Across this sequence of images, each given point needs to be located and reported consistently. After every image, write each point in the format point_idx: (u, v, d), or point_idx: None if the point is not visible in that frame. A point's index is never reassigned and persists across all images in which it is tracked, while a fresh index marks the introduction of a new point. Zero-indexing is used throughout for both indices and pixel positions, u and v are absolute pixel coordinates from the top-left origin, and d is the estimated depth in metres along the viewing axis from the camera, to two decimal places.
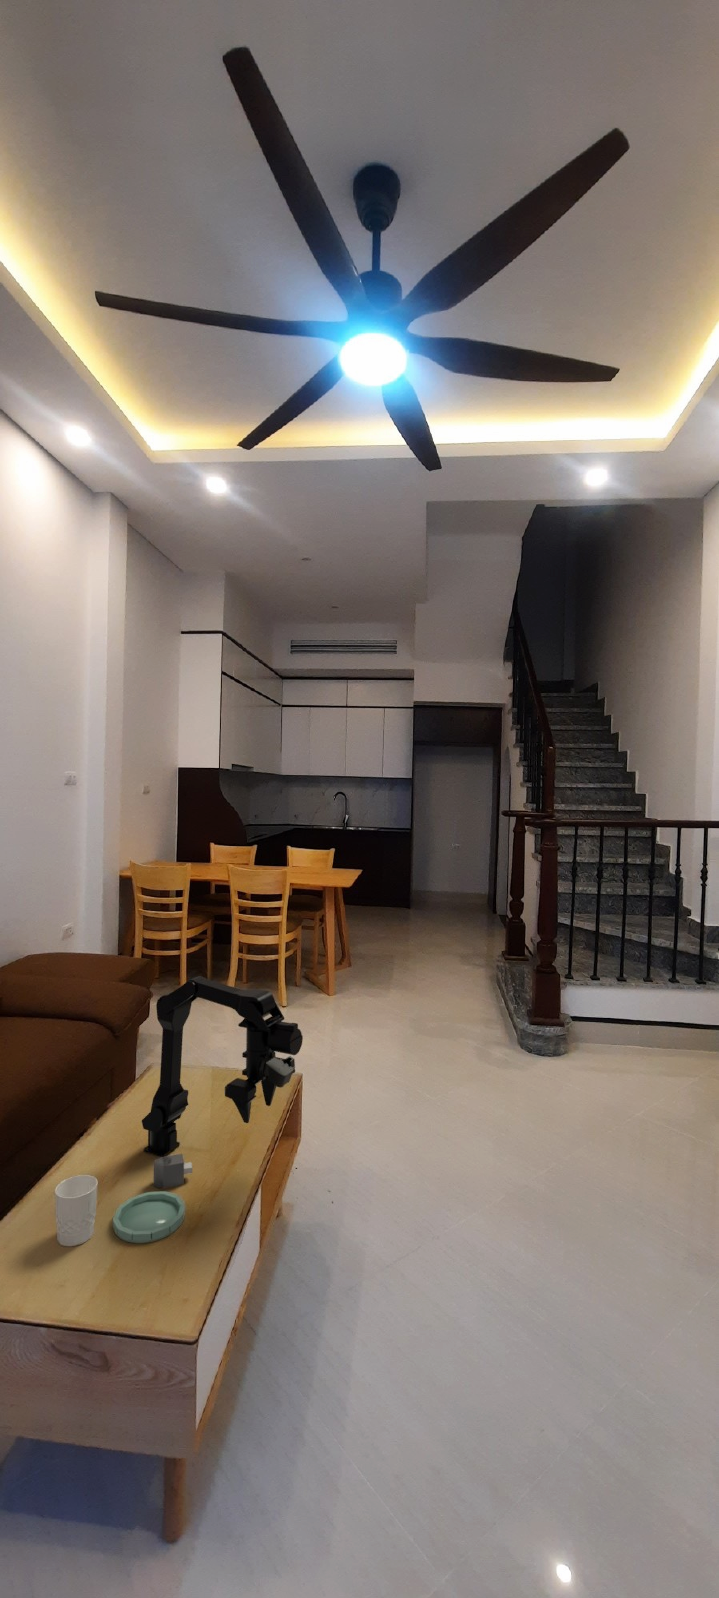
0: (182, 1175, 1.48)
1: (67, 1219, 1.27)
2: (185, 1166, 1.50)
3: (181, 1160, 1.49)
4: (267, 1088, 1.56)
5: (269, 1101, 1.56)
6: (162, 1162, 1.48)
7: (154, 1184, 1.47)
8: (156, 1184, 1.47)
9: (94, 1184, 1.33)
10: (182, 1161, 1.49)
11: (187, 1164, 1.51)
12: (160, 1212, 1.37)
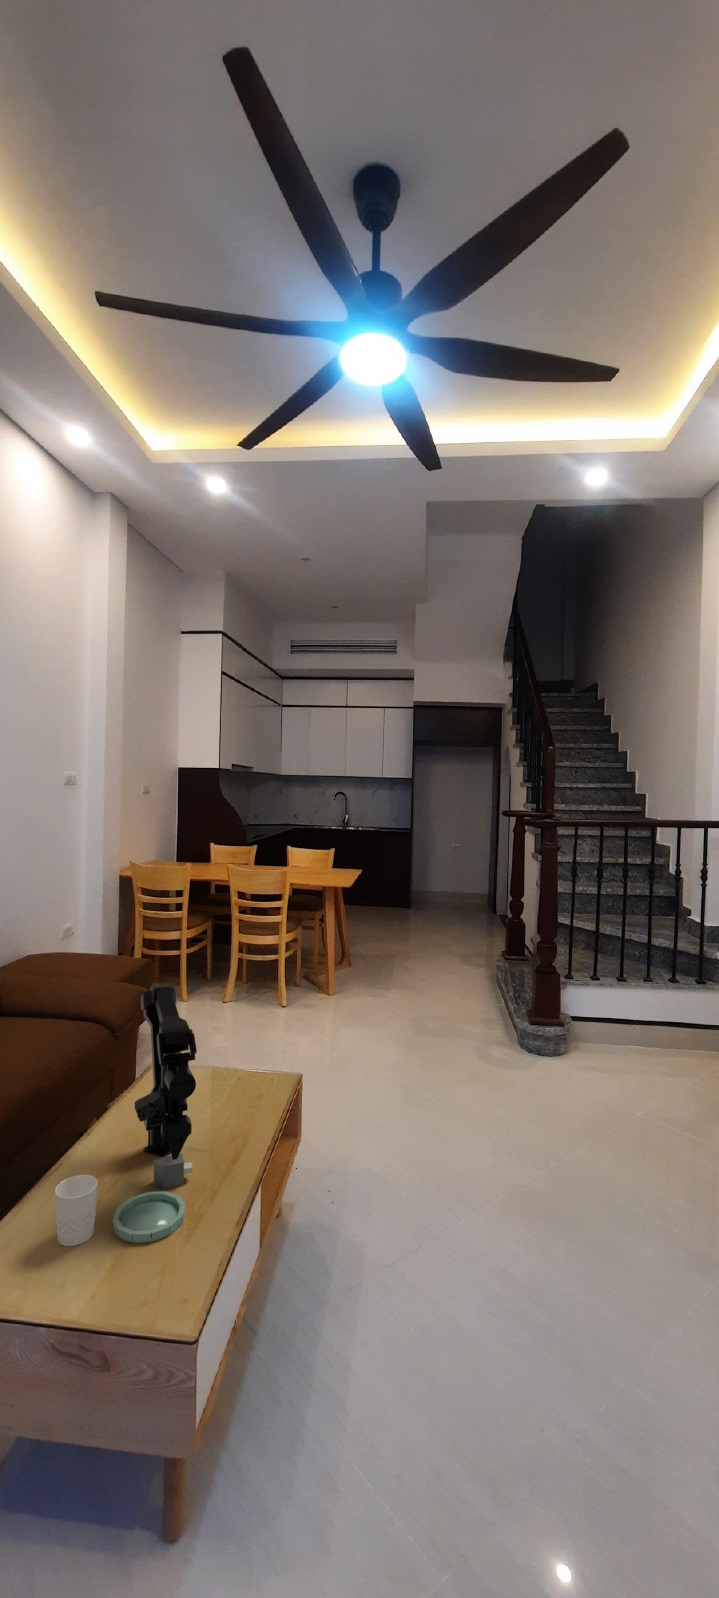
0: (182, 1175, 1.48)
1: (67, 1219, 1.27)
2: (185, 1166, 1.50)
3: (181, 1160, 1.49)
4: None
5: None
6: (162, 1162, 1.48)
7: (154, 1184, 1.47)
8: (156, 1184, 1.47)
9: (94, 1184, 1.33)
10: (182, 1161, 1.49)
11: (187, 1164, 1.51)
12: (160, 1212, 1.37)
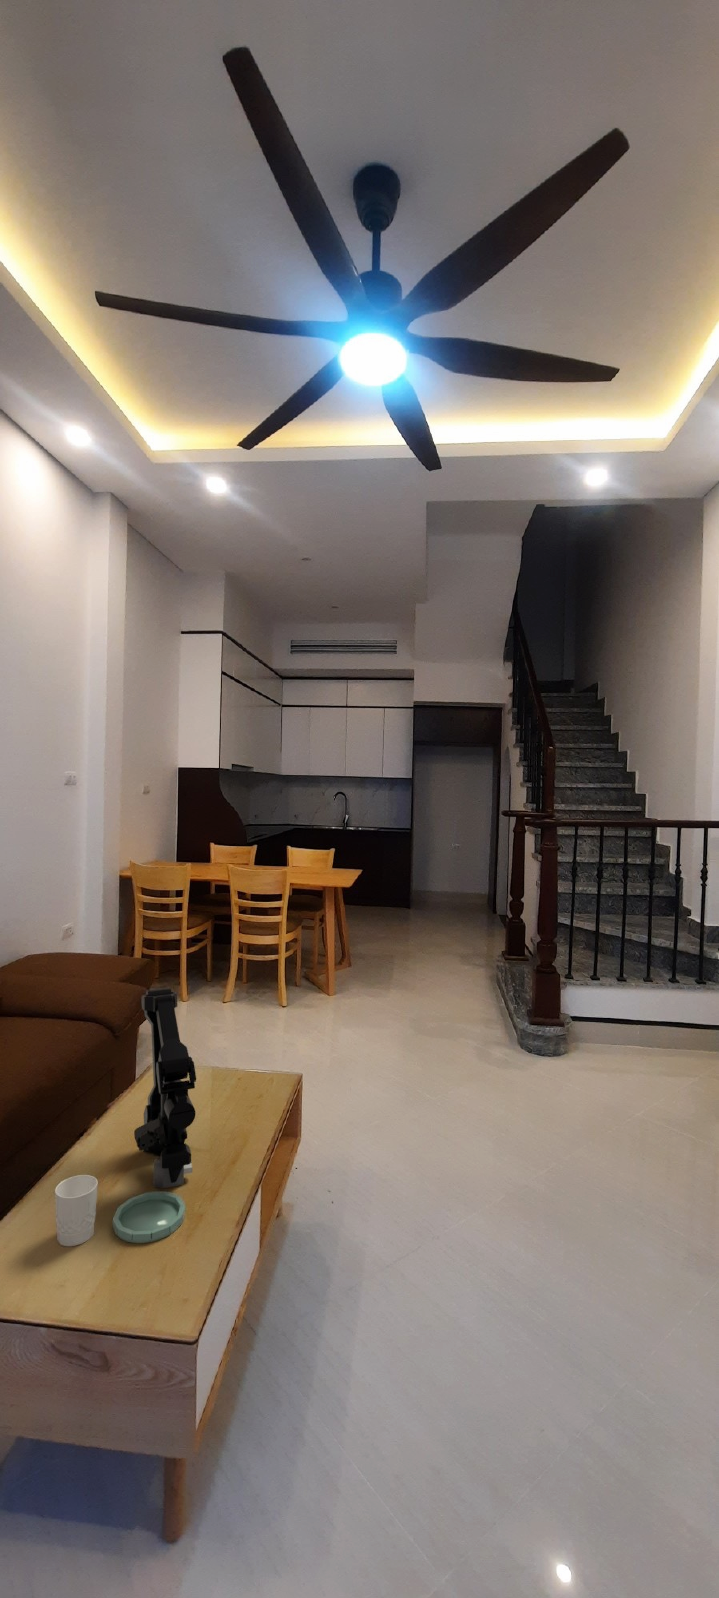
0: (182, 1175, 1.48)
1: (67, 1219, 1.27)
2: (185, 1166, 1.50)
3: None
4: None
5: None
6: None
7: (154, 1184, 1.47)
8: (156, 1184, 1.47)
9: (94, 1184, 1.33)
10: None
11: None
12: (160, 1212, 1.37)
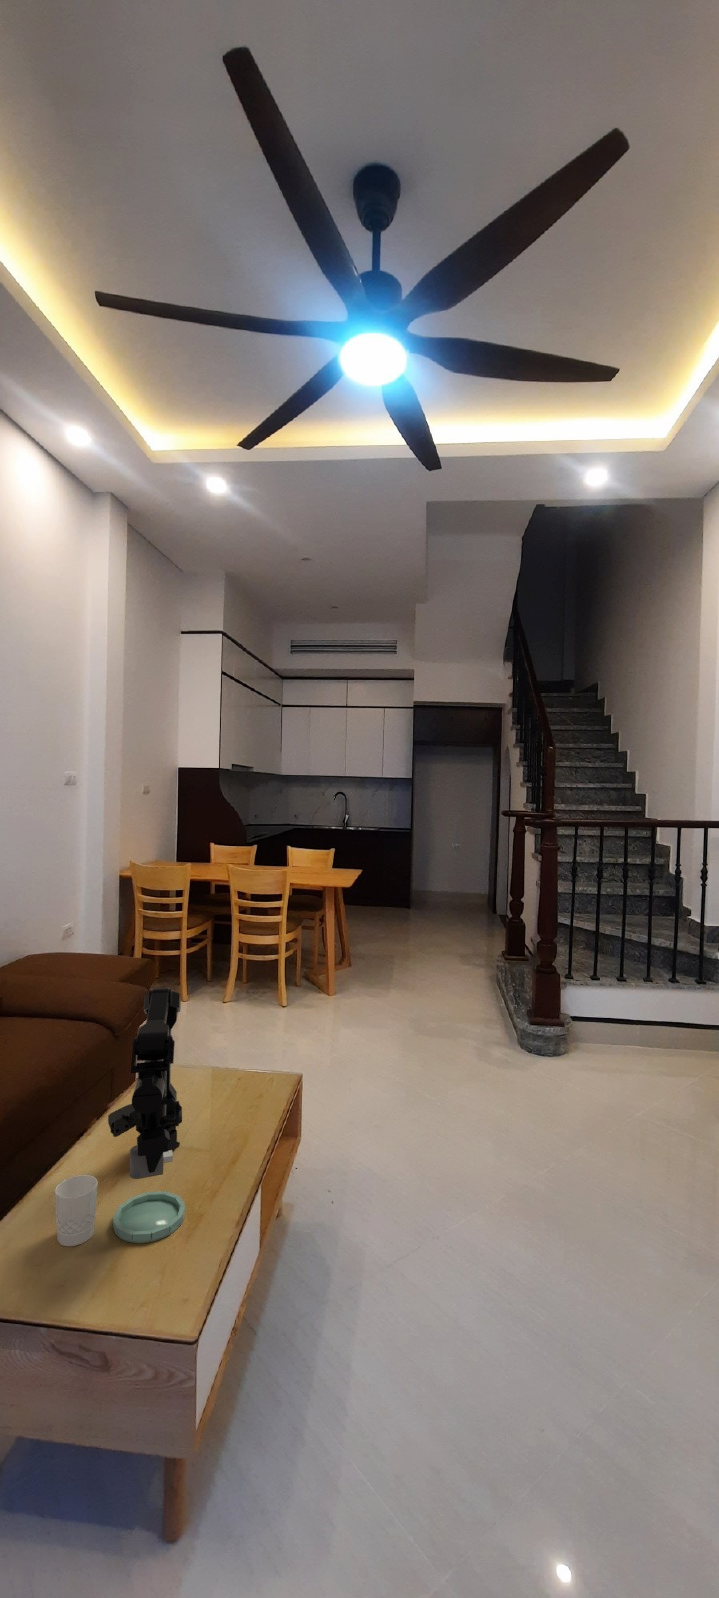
0: (161, 1164, 1.35)
1: (67, 1219, 1.27)
2: (165, 1154, 1.37)
3: None
4: None
5: None
6: None
7: (130, 1174, 1.34)
8: (132, 1174, 1.33)
9: (94, 1184, 1.33)
10: None
11: (167, 1152, 1.37)
12: (160, 1212, 1.37)
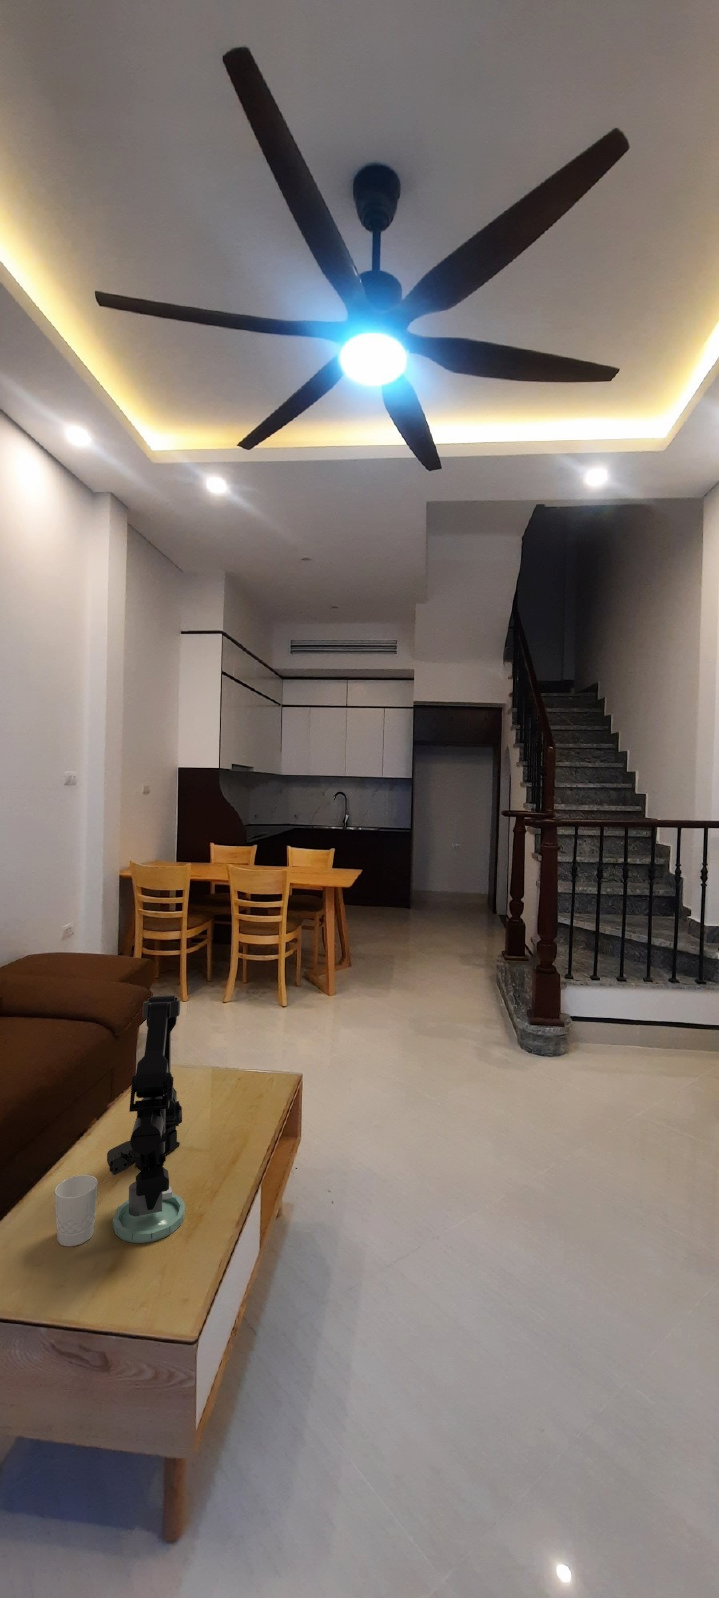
0: (160, 1201, 1.35)
1: (67, 1219, 1.27)
2: (164, 1191, 1.37)
3: None
4: None
5: None
6: None
7: (129, 1211, 1.34)
8: (131, 1211, 1.33)
9: (94, 1184, 1.33)
10: None
11: None
12: (160, 1212, 1.37)
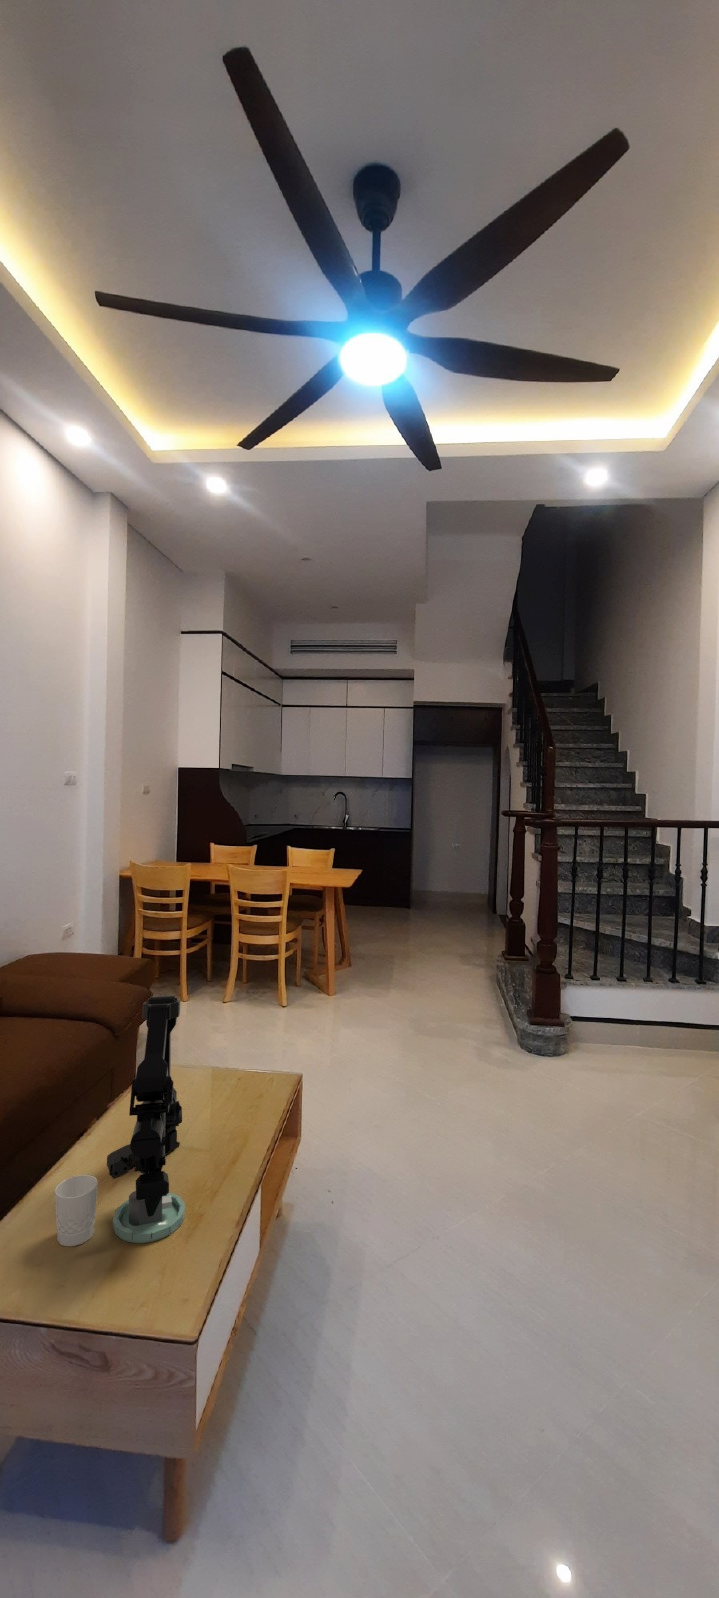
0: (160, 1210, 1.35)
1: (67, 1219, 1.27)
2: (164, 1200, 1.37)
3: None
4: None
5: None
6: None
7: (129, 1221, 1.34)
8: (131, 1221, 1.33)
9: (94, 1184, 1.33)
10: None
11: (166, 1198, 1.37)
12: None
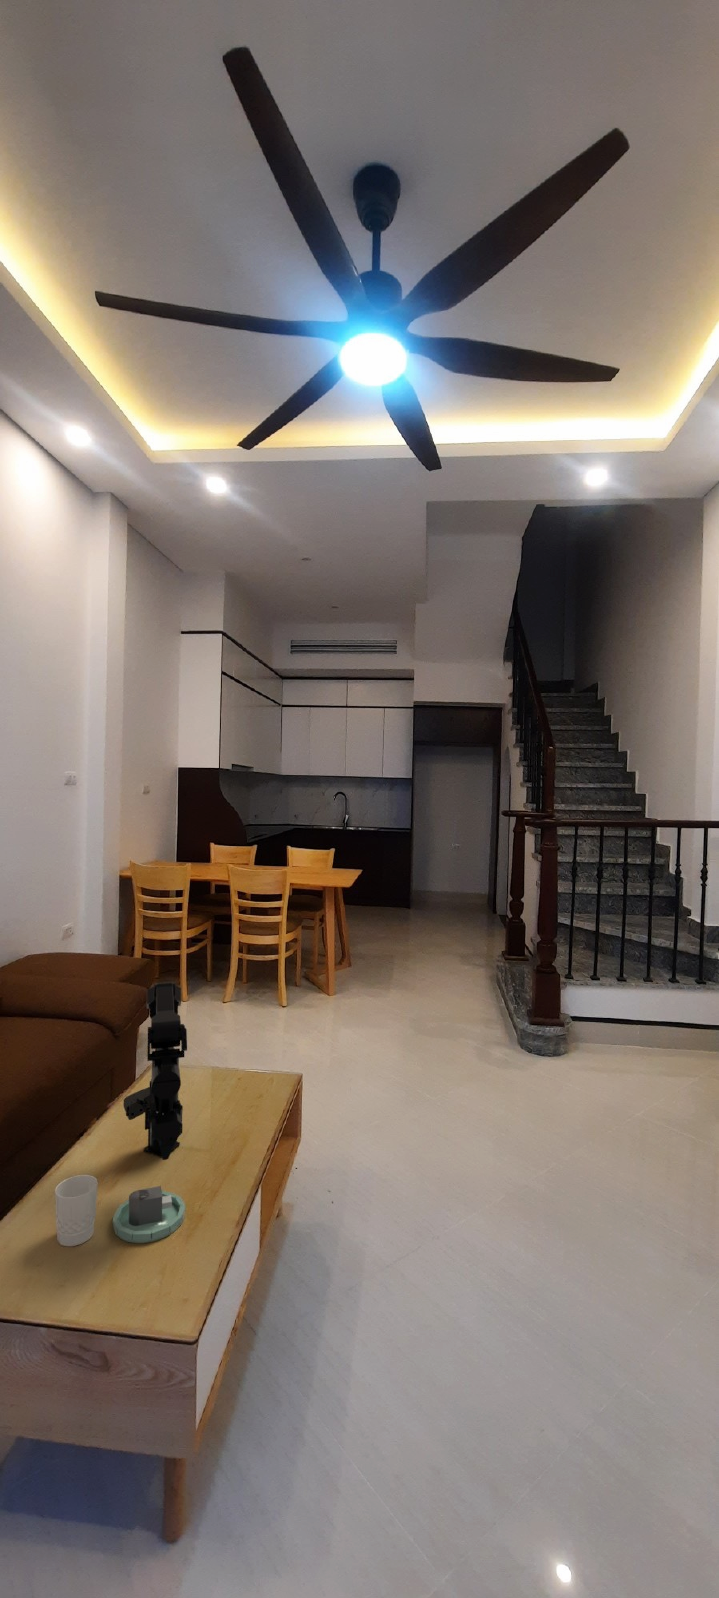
0: (160, 1210, 1.35)
1: (67, 1219, 1.27)
2: (164, 1200, 1.37)
3: (159, 1194, 1.36)
4: None
5: None
6: (138, 1196, 1.35)
7: (129, 1221, 1.34)
8: (131, 1221, 1.33)
9: (94, 1184, 1.33)
10: (160, 1195, 1.35)
11: (166, 1198, 1.37)
12: None
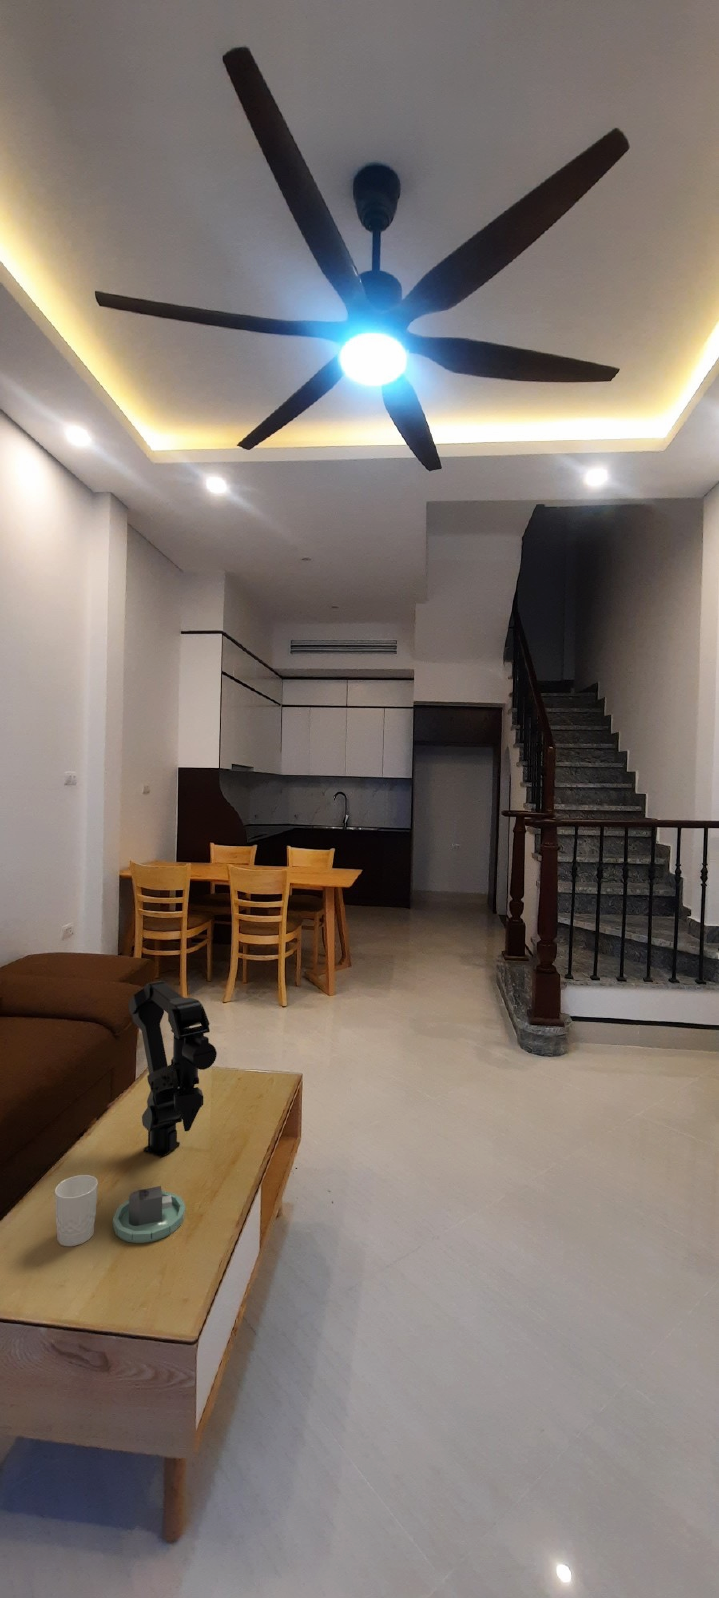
0: (160, 1210, 1.35)
1: (67, 1219, 1.27)
2: (164, 1200, 1.37)
3: (159, 1194, 1.36)
4: None
5: None
6: (138, 1196, 1.35)
7: (129, 1221, 1.34)
8: (131, 1221, 1.33)
9: (94, 1184, 1.33)
10: (160, 1195, 1.35)
11: (166, 1198, 1.37)
12: None
